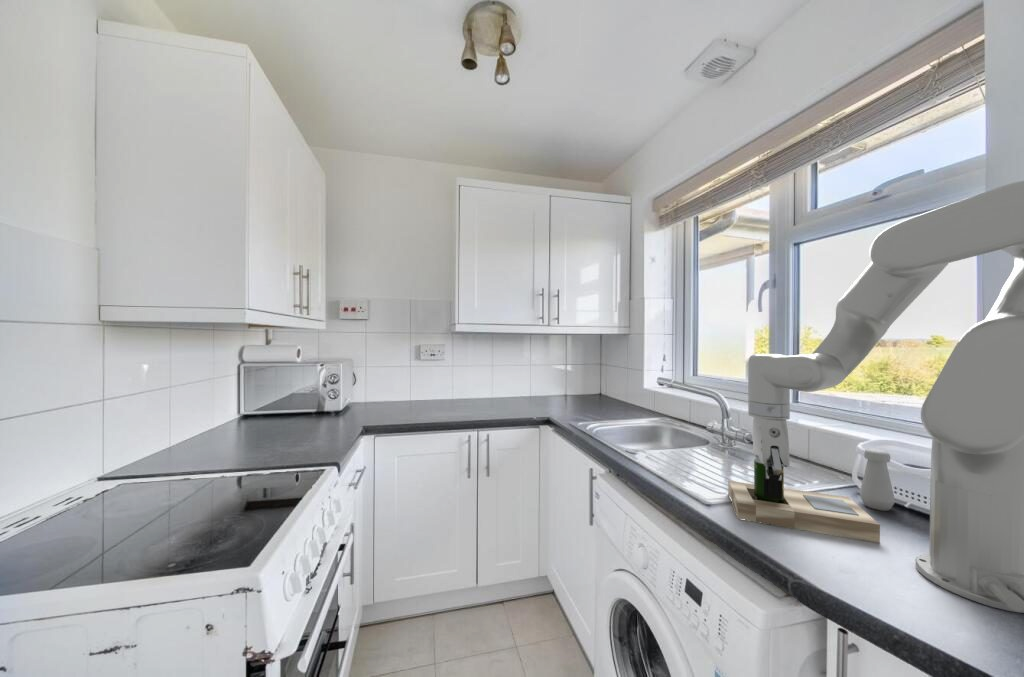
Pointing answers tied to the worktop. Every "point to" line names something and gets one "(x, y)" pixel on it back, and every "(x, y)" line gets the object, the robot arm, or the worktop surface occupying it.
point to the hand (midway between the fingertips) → (768, 491)
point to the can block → (806, 512)
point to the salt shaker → (877, 481)
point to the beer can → (758, 482)
